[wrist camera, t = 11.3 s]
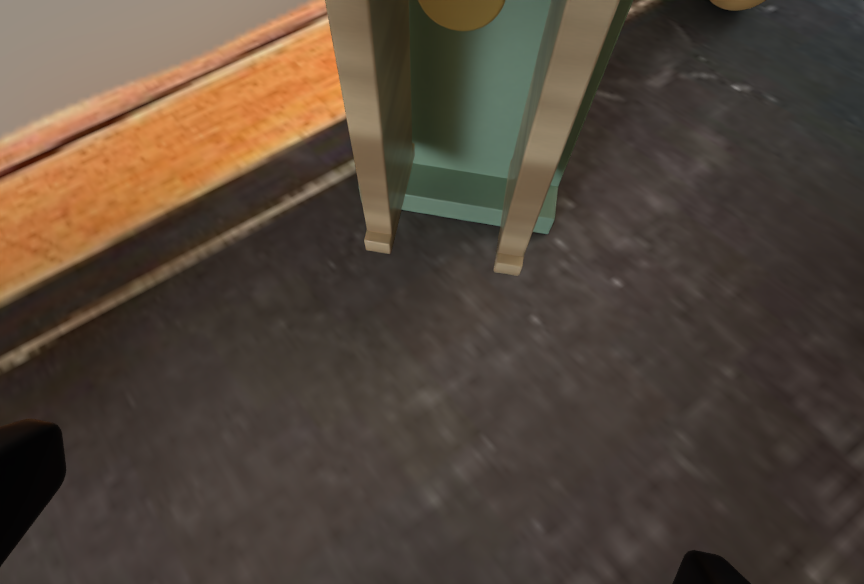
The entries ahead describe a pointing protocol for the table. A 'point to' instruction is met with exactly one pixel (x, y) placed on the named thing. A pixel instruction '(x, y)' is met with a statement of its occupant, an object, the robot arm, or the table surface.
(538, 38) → the green bookend
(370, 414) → the table surface
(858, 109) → the table surface
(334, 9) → the wooden side table
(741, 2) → the figurine
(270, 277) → the table surface
